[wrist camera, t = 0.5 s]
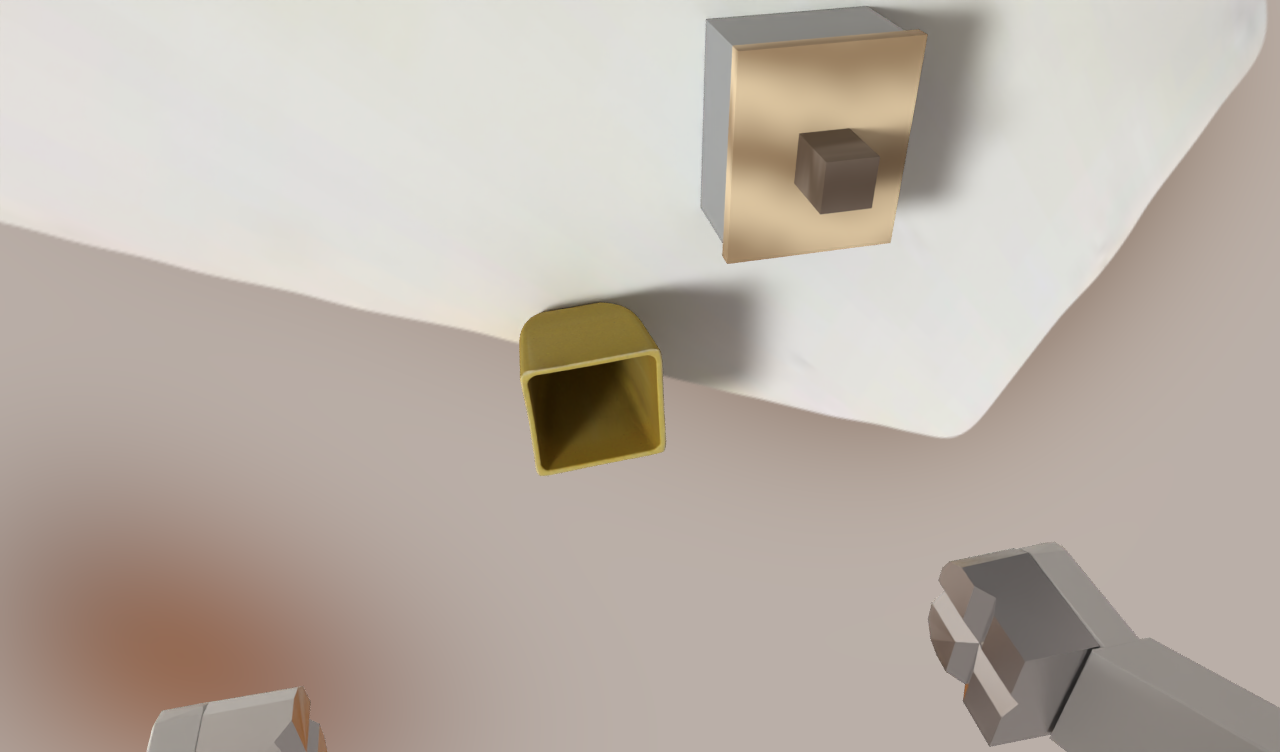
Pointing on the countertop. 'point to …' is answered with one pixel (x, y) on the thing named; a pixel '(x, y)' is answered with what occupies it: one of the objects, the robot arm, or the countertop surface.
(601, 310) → the flower pot
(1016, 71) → the countertop surface
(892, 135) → the lid
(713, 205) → the box
